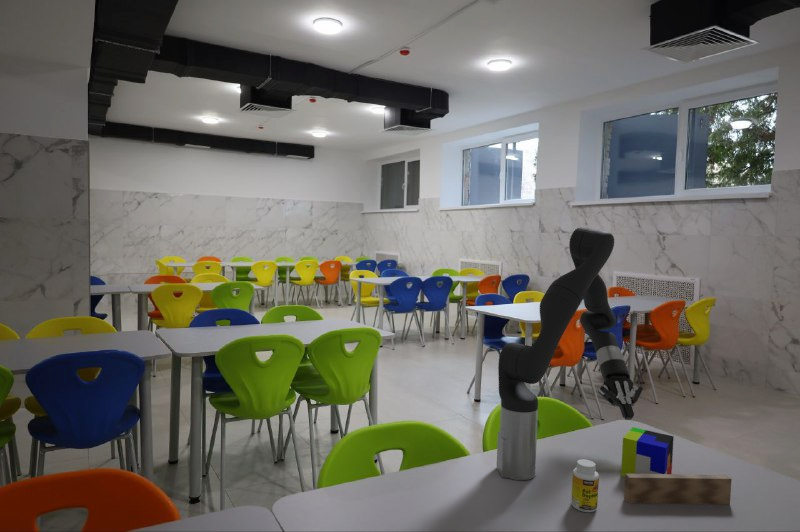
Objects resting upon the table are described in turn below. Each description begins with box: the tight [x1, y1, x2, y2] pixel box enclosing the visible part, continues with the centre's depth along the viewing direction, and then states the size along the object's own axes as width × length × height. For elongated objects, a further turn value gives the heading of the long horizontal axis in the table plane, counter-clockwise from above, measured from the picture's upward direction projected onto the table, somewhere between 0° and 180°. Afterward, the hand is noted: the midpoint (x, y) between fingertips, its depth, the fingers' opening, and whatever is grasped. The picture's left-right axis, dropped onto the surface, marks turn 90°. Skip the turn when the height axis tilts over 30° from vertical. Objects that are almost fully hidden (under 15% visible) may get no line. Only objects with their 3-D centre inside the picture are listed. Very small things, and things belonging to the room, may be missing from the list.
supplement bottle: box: [570, 458, 600, 513], centre depth 118 cm, size 6×6×10 cm
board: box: [623, 473, 732, 505], centre depth 121 cm, size 24×2×6 cm, turn 92°
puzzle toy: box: [620, 427, 674, 477], centre depth 135 cm, size 10×10×10 cm
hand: (629, 418), depth 146 cm, fingers closed
